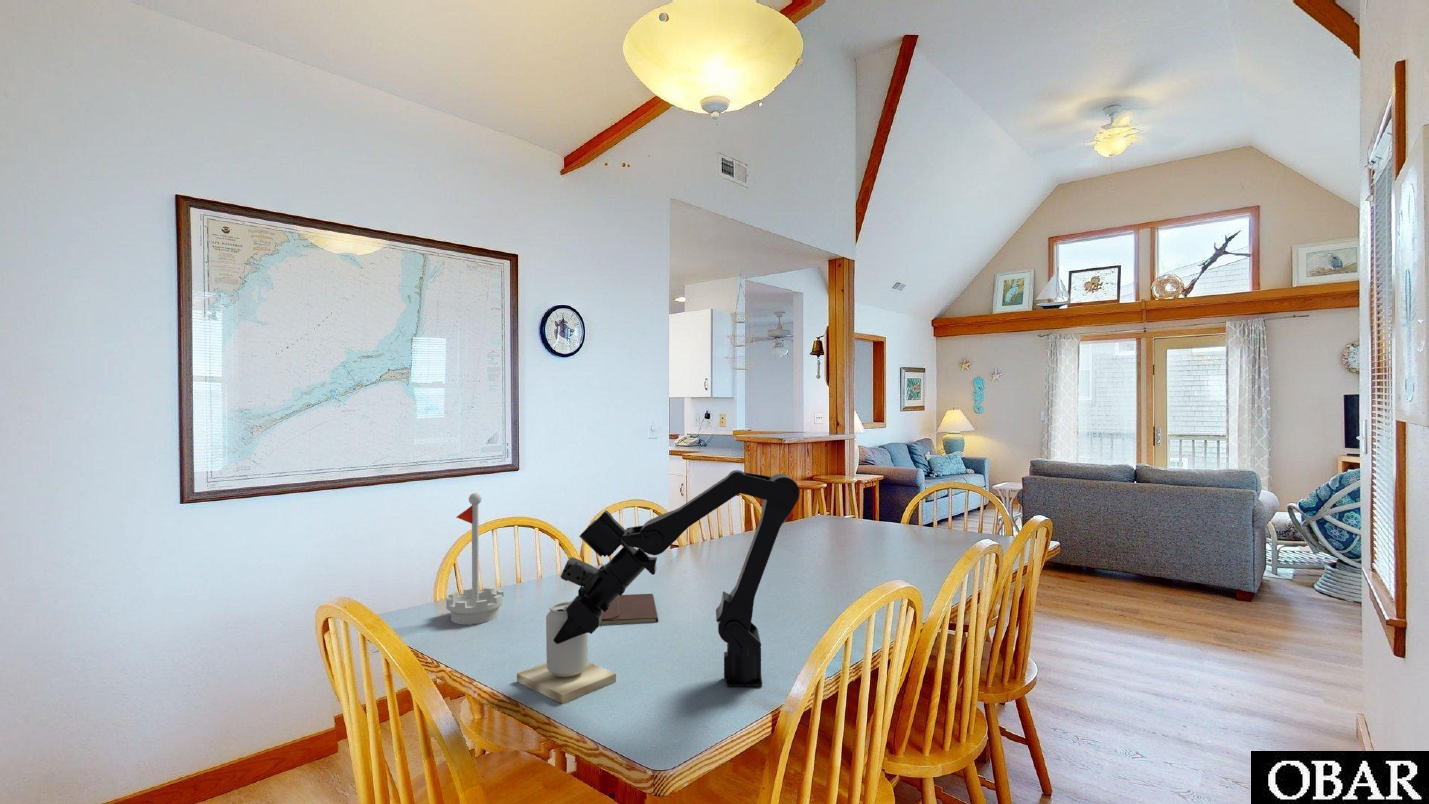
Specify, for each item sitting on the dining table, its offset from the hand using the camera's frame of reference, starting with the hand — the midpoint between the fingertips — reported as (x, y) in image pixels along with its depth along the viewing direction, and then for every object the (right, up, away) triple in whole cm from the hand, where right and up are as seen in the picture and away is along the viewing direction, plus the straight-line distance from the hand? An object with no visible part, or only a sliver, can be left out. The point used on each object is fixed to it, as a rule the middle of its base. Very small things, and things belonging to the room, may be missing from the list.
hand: (559, 634), depth 123 cm
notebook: (+7, -9, +42) cm, 43 cm away
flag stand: (-29, -9, +38) cm, 48 cm away
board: (+1, -9, 0) cm, 9 cm away
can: (+1, -7, 0) cm, 7 cm away
